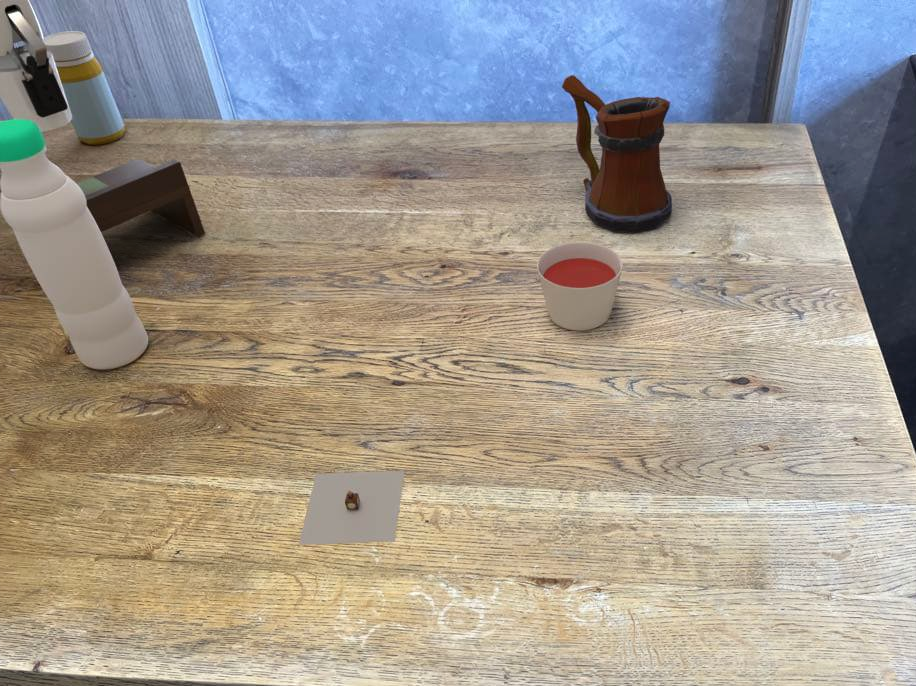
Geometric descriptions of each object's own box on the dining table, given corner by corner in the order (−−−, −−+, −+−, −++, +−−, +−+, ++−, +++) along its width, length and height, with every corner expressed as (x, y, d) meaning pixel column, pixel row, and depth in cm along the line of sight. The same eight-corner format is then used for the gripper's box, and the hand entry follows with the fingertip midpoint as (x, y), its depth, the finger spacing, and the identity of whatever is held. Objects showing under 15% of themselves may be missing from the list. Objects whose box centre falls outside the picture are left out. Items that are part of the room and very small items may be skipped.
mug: (535, 192, 111) (531, 81, 101) (600, 166, 116) (601, 58, 106) (624, 245, 100) (629, 126, 90) (691, 214, 105) (703, 99, 95)
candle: (530, 297, 93) (527, 249, 88) (605, 284, 94) (607, 236, 90) (550, 344, 86) (549, 294, 82) (631, 329, 88) (634, 280, 83)
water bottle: (73, 376, 85) (-53, 148, 68) (90, 336, 90) (-23, 114, 73) (143, 368, 85) (36, 139, 69) (156, 328, 91) (59, 106, 74)
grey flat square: (404, 470, 73) (401, 456, 72) (394, 541, 68) (391, 526, 66) (316, 473, 73) (311, 459, 72) (298, 544, 68) (292, 530, 66)
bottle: (134, 135, 129) (96, 36, 119) (91, 150, 126) (48, 49, 116) (114, 123, 133) (76, 26, 123) (72, 137, 129) (29, 39, 119)
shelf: (41, 256, 103) (4, 183, 96) (156, 206, 112) (129, 136, 105) (88, 289, 97) (51, 214, 90) (205, 234, 106) (180, 161, 99)
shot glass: (90, 110, 95) (64, 48, 90) (54, 136, 90) (25, 71, 85) (37, 108, 96) (9, 47, 91) (-1, 133, 91) (-33, 69, 86)
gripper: (-119, -79, 82) (-30, 98, 94) (-48, -55, 73) (40, 136, 85) (-42, -94, 86) (35, 77, 98) (34, -73, 77) (108, 112, 89)
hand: (37, 103), depth 91 cm, fingers closed on shot glass, 6 cm apart
